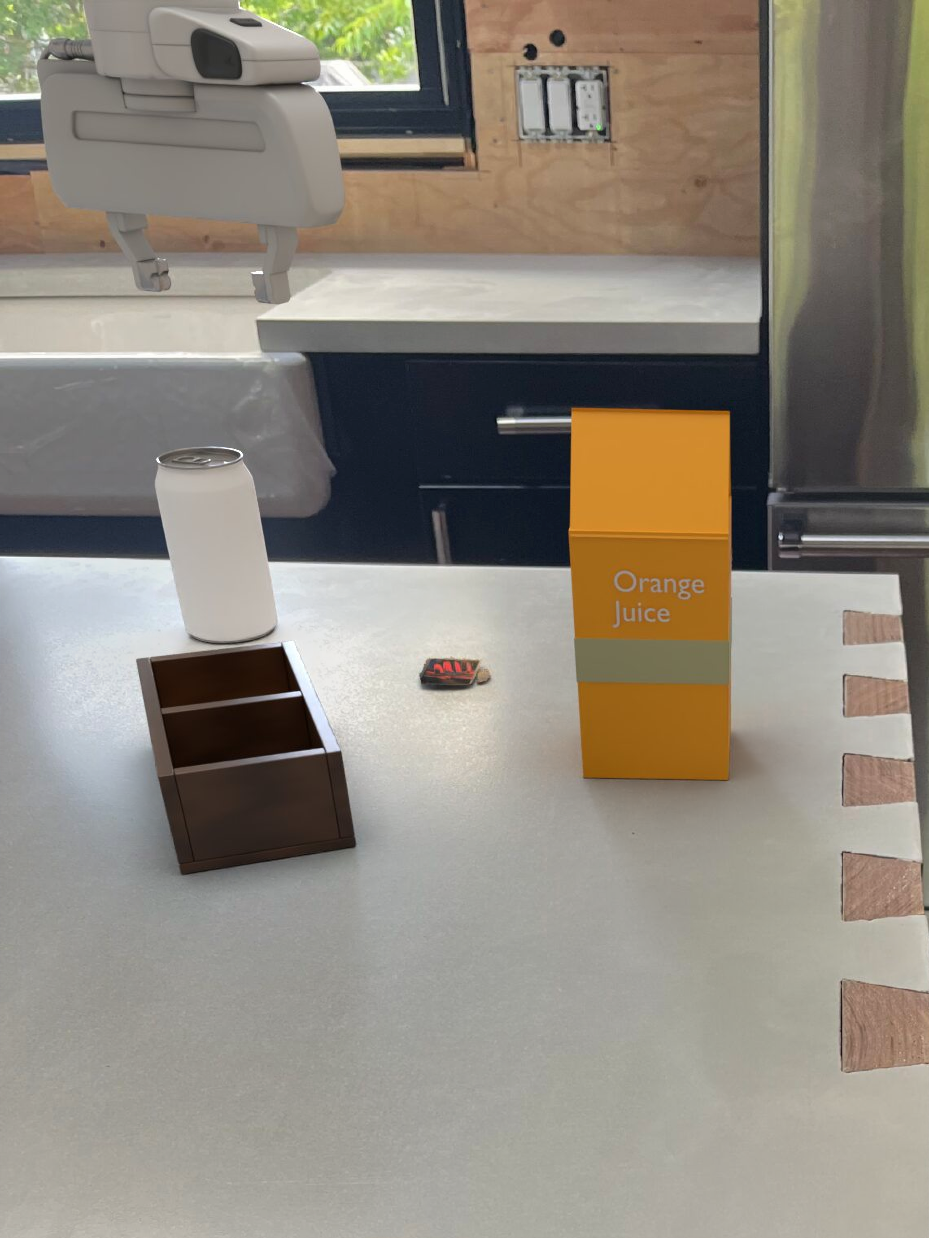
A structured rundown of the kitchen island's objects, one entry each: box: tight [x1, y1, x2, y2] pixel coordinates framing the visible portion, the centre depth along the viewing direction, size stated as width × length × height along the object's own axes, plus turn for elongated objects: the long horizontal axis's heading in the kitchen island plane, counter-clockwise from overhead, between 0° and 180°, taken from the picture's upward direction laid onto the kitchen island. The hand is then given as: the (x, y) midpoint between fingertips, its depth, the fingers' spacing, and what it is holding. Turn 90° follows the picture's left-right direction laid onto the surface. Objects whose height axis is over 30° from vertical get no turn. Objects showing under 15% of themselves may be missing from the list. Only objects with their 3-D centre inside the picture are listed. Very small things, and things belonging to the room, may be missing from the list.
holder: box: [135, 640, 357, 875], centre depth 85 cm, size 9×17×6 cm, turn 23°
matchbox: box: [418, 656, 492, 689], centre depth 101 cm, size 5×5×1 cm
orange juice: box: [568, 407, 733, 781], centre depth 86 cm, size 8×9×20 cm
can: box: [154, 446, 279, 644], centre depth 105 cm, size 6×6×12 cm
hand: (213, 296), depth 98 cm, fingers open, 8 cm apart
